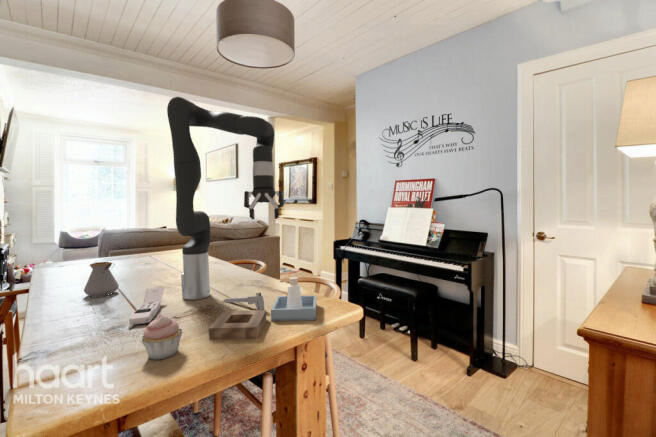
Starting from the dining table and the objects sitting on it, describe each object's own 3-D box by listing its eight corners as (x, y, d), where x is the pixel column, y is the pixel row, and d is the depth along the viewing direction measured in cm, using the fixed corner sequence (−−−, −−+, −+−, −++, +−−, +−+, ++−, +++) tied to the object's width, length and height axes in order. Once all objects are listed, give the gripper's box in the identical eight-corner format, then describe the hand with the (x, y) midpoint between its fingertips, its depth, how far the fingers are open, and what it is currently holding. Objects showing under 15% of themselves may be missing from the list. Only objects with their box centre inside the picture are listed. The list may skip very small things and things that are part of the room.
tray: (271, 321, 96) (270, 309, 96) (277, 306, 110) (277, 296, 109) (315, 320, 96) (315, 308, 96) (316, 305, 110) (316, 295, 110)
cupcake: (148, 347, 80) (146, 309, 79) (187, 343, 82) (185, 305, 82) (134, 366, 71) (132, 323, 70) (179, 360, 73) (177, 318, 72)
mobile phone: (164, 286, 117) (147, 307, 93) (165, 301, 117) (148, 327, 93) (146, 288, 115) (124, 310, 91) (147, 304, 115) (125, 330, 92)
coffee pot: (81, 295, 127) (78, 258, 126) (114, 288, 135) (112, 254, 134) (94, 306, 112) (92, 265, 112) (130, 298, 121) (128, 260, 120)
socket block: (209, 339, 84) (208, 328, 84) (224, 320, 97) (224, 311, 97) (257, 338, 84) (257, 327, 84) (266, 319, 97) (266, 310, 97)
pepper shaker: (296, 314, 99) (295, 280, 98) (282, 312, 102) (281, 278, 101) (306, 309, 104) (305, 276, 103) (293, 306, 107) (292, 275, 106)
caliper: (264, 311, 105) (263, 292, 105) (262, 312, 105) (261, 293, 104) (225, 301, 117) (225, 284, 117) (223, 301, 116) (222, 285, 116)
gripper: (241, 174, 111) (242, 220, 112) (281, 173, 111) (282, 219, 112) (246, 176, 119) (247, 218, 120) (283, 175, 119) (285, 218, 120)
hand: (264, 219), depth 116 cm, fingers open, 8 cm apart
